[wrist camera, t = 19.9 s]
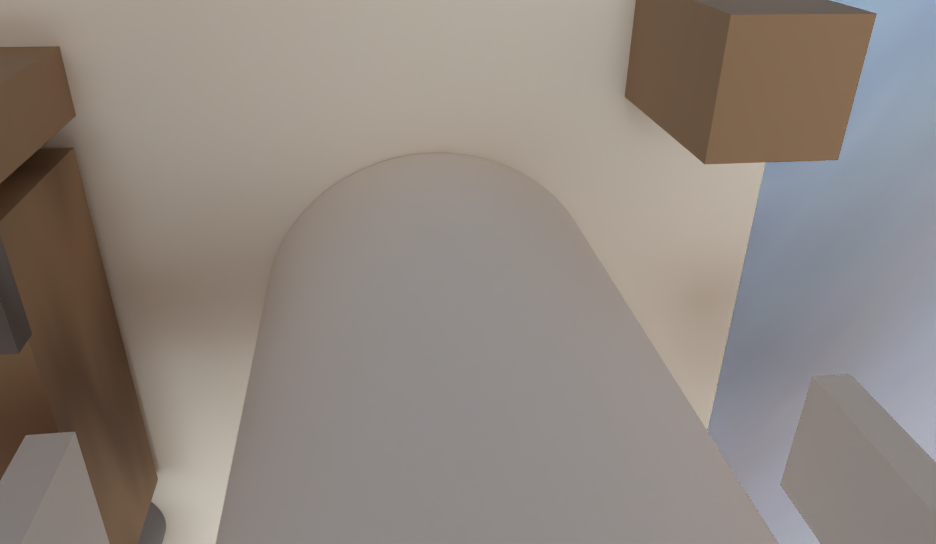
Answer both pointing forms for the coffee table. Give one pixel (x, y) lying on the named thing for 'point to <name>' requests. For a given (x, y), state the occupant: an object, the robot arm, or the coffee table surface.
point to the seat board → (402, 134)
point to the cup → (463, 381)
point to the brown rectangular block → (67, 341)
